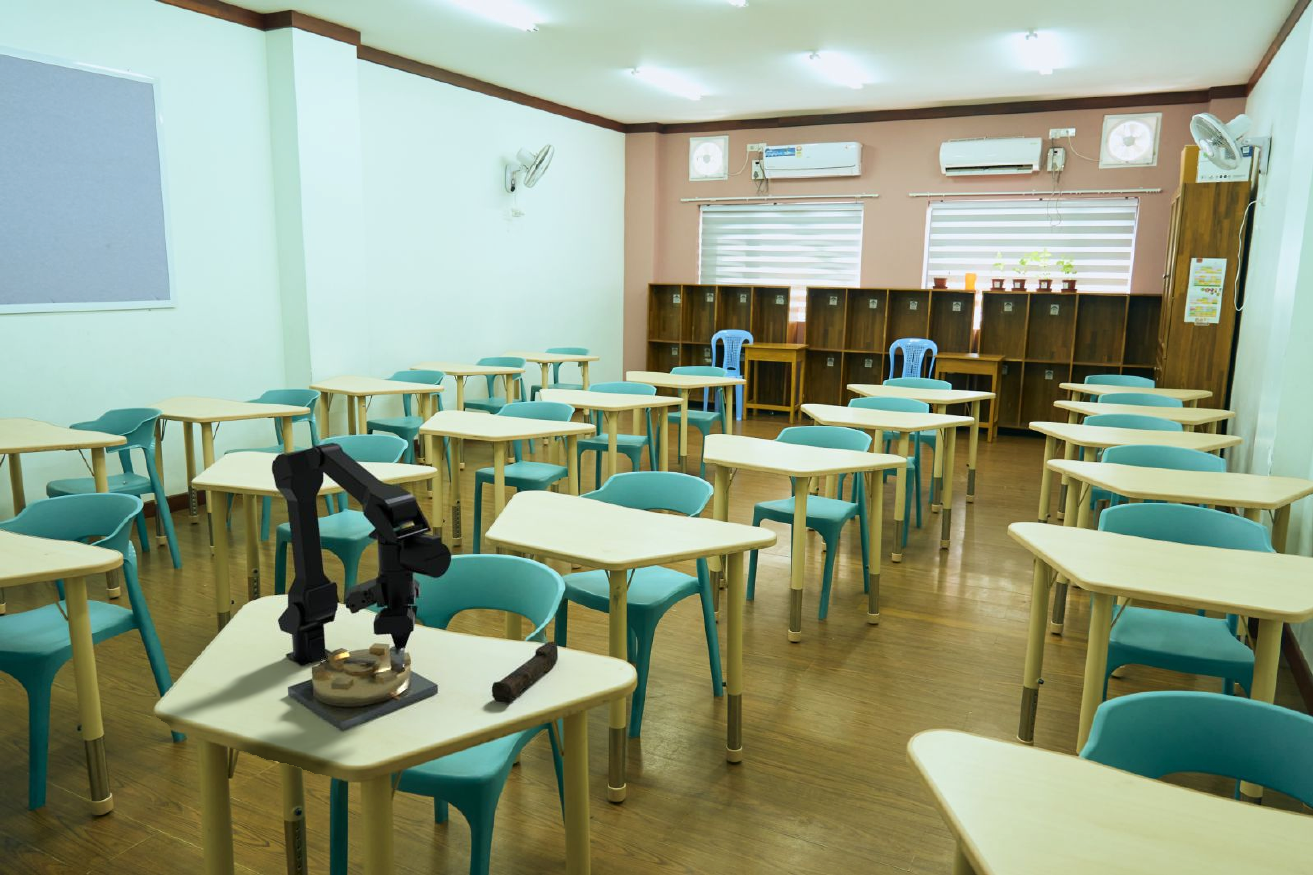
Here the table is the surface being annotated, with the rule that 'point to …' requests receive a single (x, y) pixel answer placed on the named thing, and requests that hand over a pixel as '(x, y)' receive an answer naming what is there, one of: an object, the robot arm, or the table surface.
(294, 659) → the robot arm
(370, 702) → the ring nut
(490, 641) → the table surface
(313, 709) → the base plate
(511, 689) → the rough bark branch
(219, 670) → the table surface
